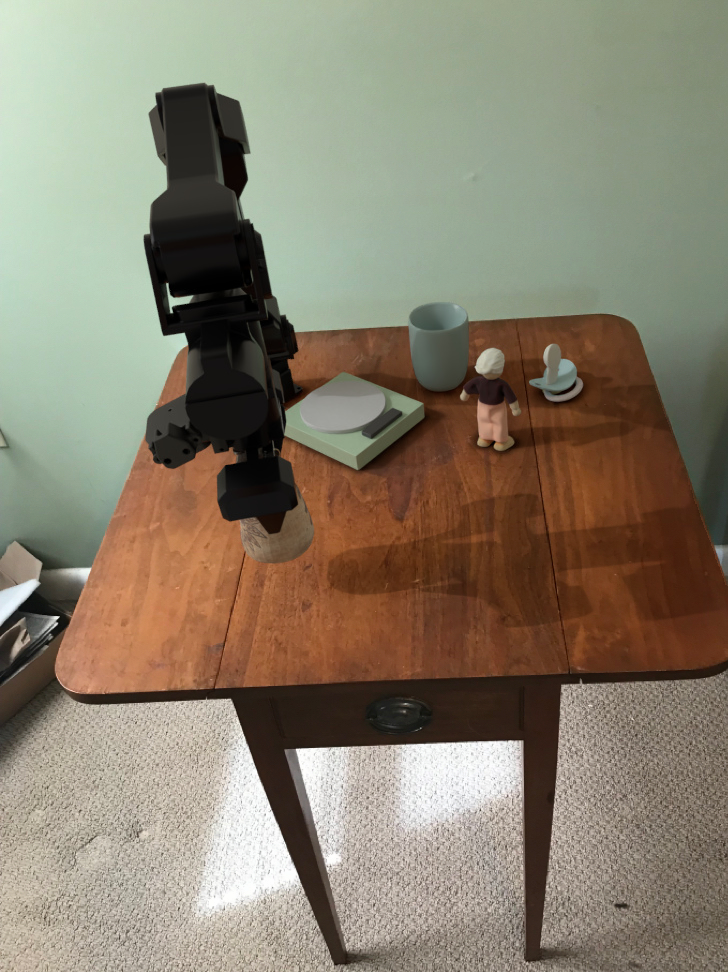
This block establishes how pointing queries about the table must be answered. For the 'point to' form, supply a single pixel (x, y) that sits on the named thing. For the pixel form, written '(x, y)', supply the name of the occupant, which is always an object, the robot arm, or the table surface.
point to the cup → (439, 345)
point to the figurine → (282, 544)
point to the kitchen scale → (351, 419)
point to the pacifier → (557, 376)
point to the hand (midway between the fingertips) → (271, 508)
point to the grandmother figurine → (492, 400)
